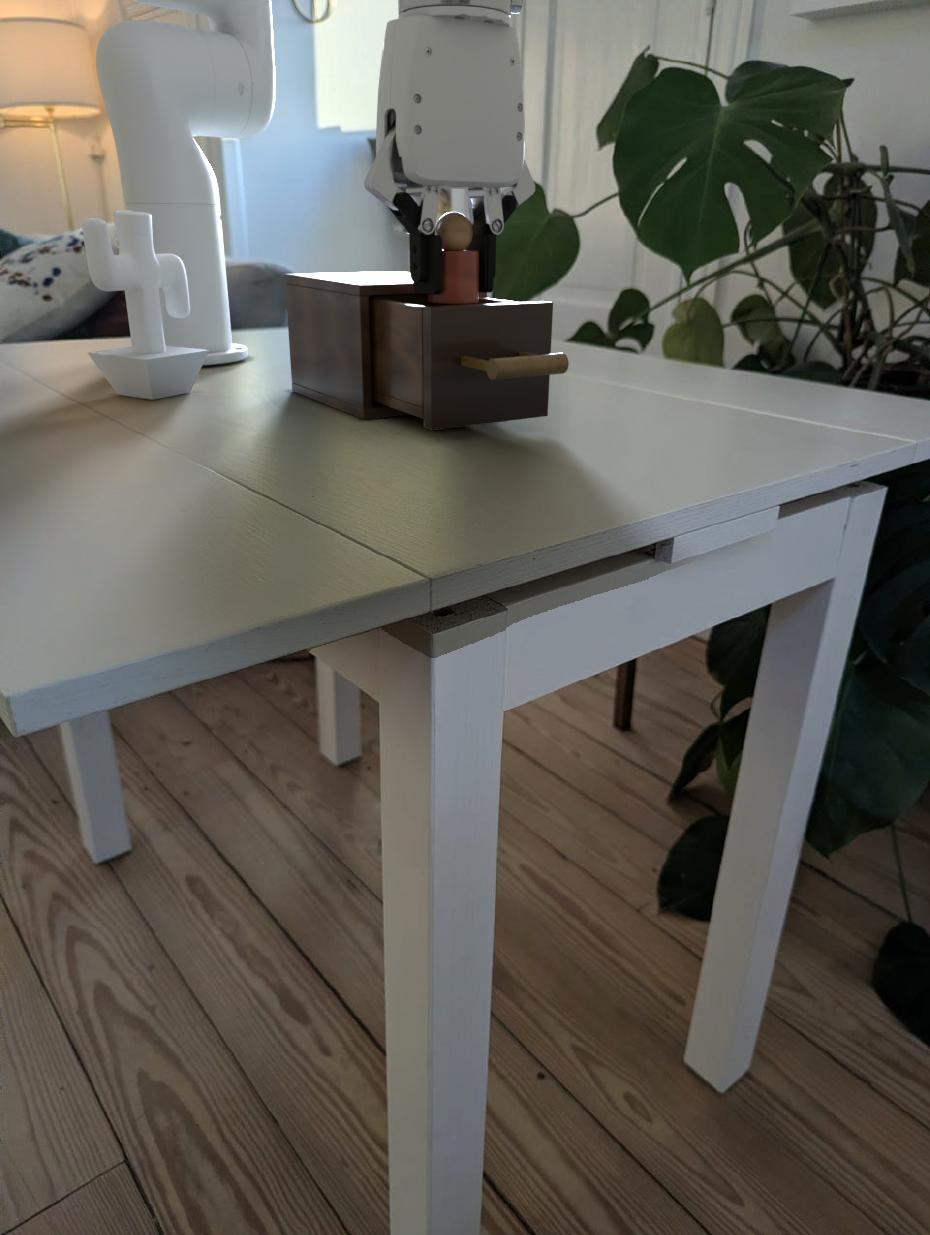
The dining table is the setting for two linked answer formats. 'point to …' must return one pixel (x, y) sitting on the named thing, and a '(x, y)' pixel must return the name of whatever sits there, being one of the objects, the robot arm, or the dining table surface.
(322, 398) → the cabinet
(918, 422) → the dining table surface
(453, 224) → the peg doll
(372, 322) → the drawer
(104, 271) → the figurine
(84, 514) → the dining table surface
